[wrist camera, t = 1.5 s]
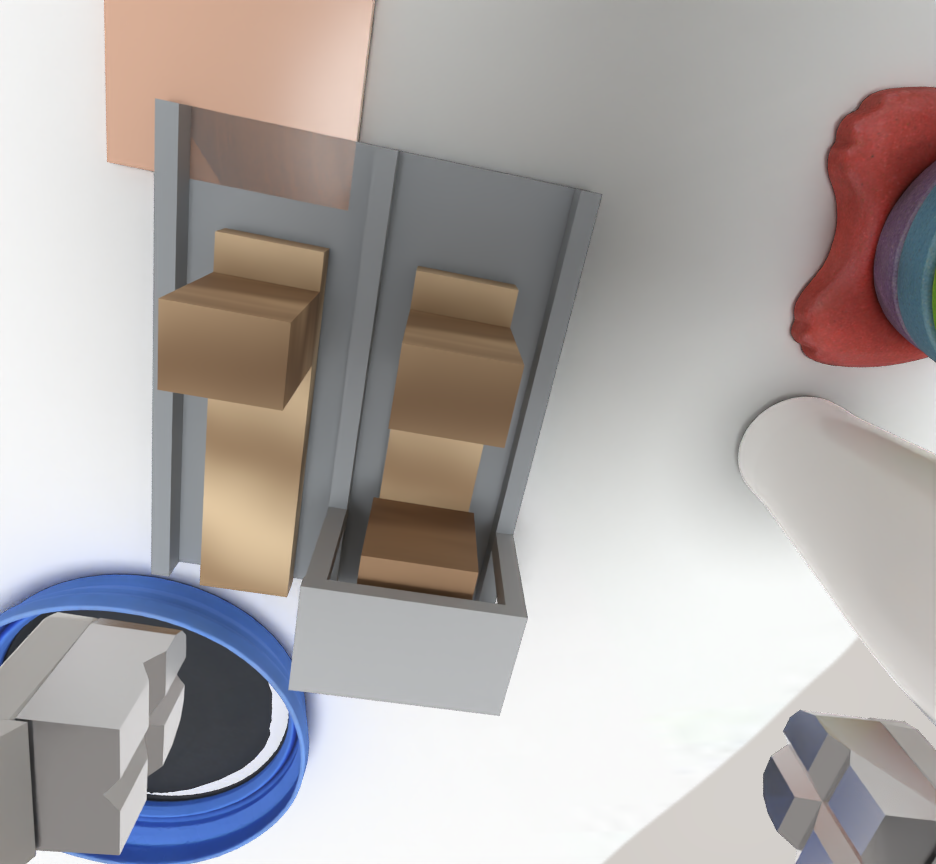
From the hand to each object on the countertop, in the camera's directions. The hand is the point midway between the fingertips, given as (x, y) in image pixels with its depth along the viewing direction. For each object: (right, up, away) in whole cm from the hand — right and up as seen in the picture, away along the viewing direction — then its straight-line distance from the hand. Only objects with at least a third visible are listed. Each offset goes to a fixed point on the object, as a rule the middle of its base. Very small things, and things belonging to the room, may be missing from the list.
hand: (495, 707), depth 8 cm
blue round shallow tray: (-18, -11, +27) cm, 34 cm away
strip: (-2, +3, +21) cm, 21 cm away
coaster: (-9, +17, +15) cm, 24 cm away
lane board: (-5, +5, +20) cm, 21 cm away
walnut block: (-3, -2, +21) cm, 21 cm away
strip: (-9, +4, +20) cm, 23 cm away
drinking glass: (+15, +3, +22) cm, 27 cm away
